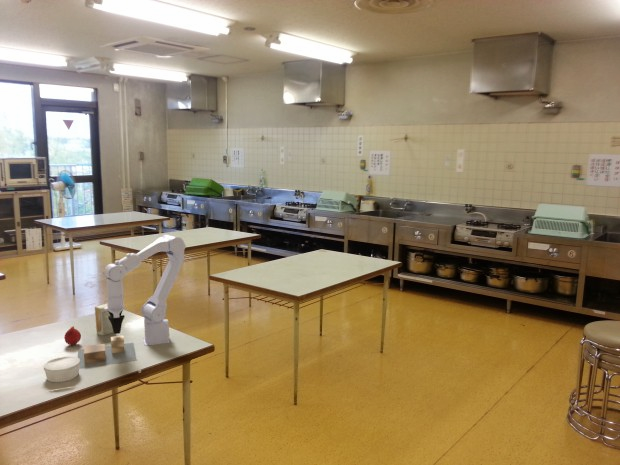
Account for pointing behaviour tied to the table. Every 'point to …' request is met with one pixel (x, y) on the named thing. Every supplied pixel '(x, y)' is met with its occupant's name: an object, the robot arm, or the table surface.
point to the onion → (72, 336)
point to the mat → (111, 356)
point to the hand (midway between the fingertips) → (116, 330)
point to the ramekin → (62, 369)
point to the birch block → (117, 344)
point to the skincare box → (103, 320)
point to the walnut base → (94, 353)
